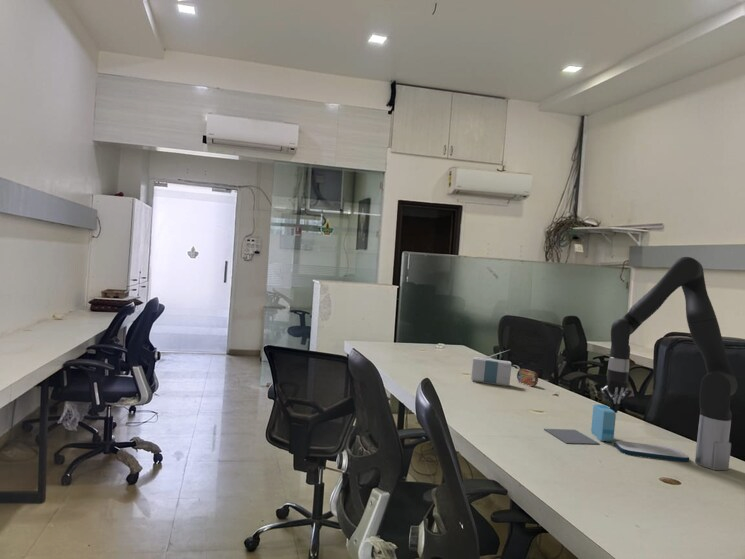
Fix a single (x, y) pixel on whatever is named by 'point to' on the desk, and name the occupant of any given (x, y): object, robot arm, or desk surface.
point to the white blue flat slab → (651, 451)
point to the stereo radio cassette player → (491, 371)
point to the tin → (527, 377)
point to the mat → (571, 436)
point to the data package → (603, 423)
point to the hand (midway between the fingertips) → (613, 412)
